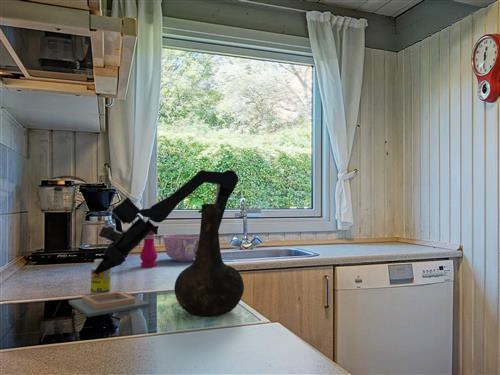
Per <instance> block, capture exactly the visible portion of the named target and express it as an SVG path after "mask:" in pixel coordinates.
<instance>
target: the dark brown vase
mask: <svg viewBox="0 0 500 375" xmlns="http://www.w3.org/2000/svg"><path fill="white" fill-rule="evenodd" d="M200 206H201V209H199V210H198V211H197V213H199V214H201V215H200V227H199V228H200V229H199V230H200V231H199V235H200V237H199V243H198V249H197V254H196V257H195V259H193V262H192V264H190V265H189V266H187V267H185V268H184V269H183V270H182V271H181V272H180V273H179V274H178V275H177V278H176V279H175V281H174V282H175V283H174V289H173V290H174V291H173V292H174V295H175V298H176V300H177V302H178V304H179V306H180V307H181V308H182V310H183V311H185V312H186V313H188V314H190V315H192V316H195V317H200V318H215V316H216V317H220V316H223V315H226V314H228V313H231V311H233V310H234V309H236V307H237V306H238V305H239V303H240V301H241V300H242V298H243V295H244V291H245V284H244V280H243V277H242V274H240V272H239V271H238V270H237V269H236V268H234V267H232V266H231V265H228V264H226V263H225V262H224V261H223V258H222V252H221V246H220V235H219V234H220V233H219V229H220V228H219V229H218V213H221V211H220V210H218V206H219V204H216V203H215V204H214V202H213V203H202V204H201V205H200Z"/></svg>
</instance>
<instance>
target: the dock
mask: <svg viewBox="0 0 500 375" xmlns="http://www.w3.org/2000/svg"><path fill="white" fill-rule="evenodd" d="M68 304H69V305H70V306H71V307H73V308H75V310H77V311H79V312H80V313H82V314H83V315H84V316H86V317H88V318H90V317H95V316H101V315H108V314H113V313H119V312H123V311H129V310H130V311H131V310H135V309H142V308H145V307H150V302H147V301H146V300H143V299H141V298H138V297H136V296H134V295H133V294H130V293H127V292H122V291H112V292H111V291H110V292H109V293H104V294H97V295H94V294H91V295H84V296H82V298H77V299H69V300H68Z"/></svg>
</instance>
